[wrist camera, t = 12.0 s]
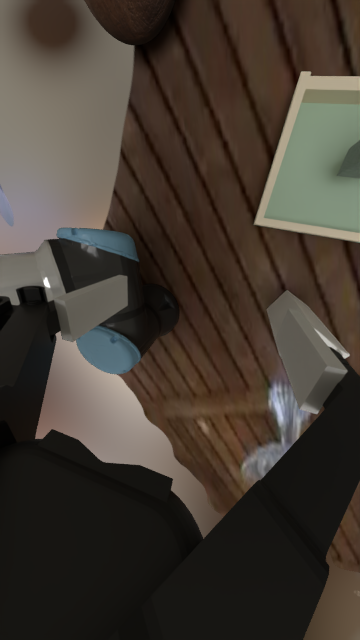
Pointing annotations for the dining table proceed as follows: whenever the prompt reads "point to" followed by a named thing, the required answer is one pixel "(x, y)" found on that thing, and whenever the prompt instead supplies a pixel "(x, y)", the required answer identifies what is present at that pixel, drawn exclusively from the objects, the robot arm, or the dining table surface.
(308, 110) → the pitch
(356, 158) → the kicker rod
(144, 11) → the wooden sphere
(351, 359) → the dining table surface
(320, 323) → the milk
